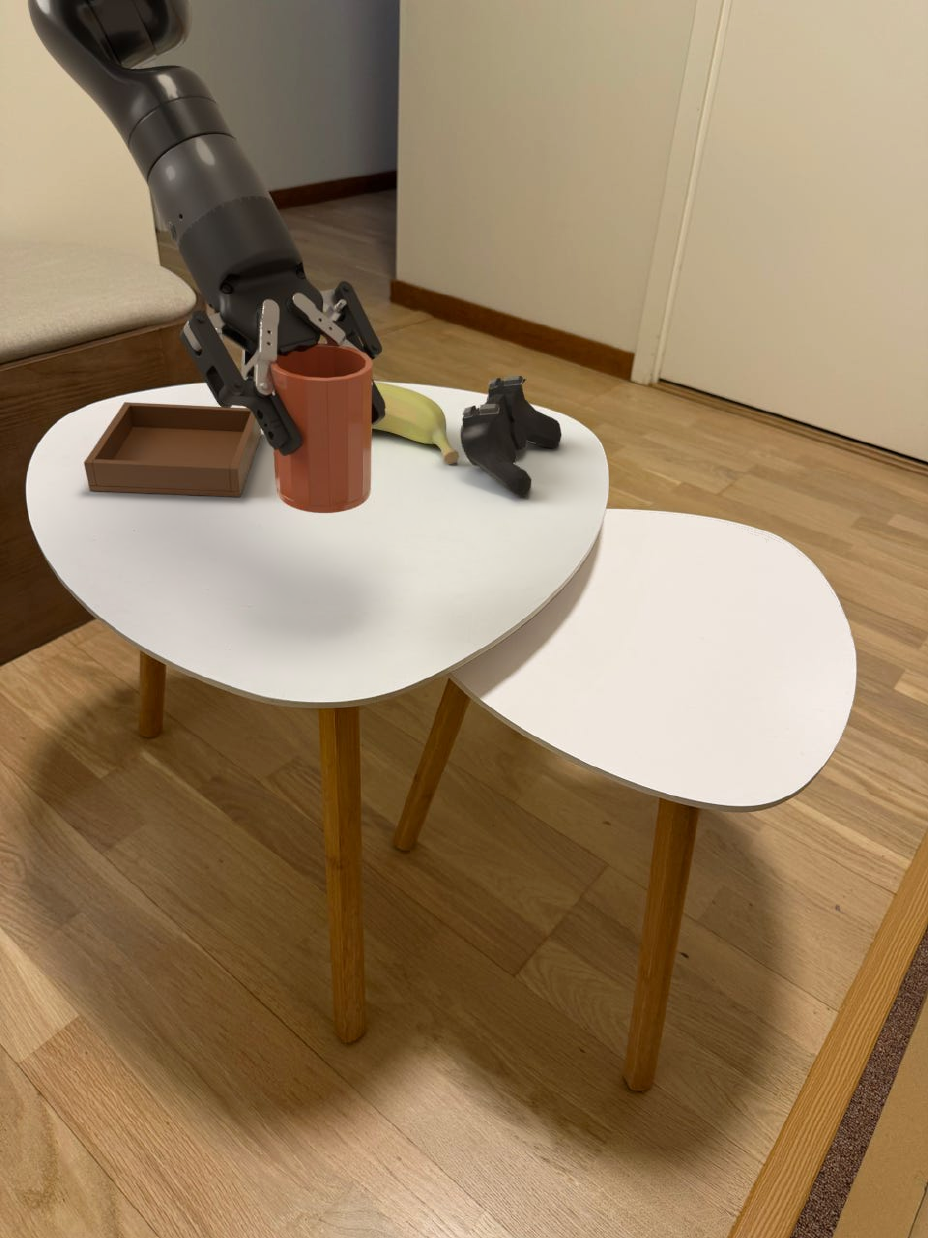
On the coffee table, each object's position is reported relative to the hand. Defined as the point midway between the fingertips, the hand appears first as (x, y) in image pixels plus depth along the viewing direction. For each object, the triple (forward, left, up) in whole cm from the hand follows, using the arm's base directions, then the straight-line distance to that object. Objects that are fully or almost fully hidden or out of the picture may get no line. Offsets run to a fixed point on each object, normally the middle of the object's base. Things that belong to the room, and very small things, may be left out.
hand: (336, 435), depth 63 cm
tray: (-19, +27, -17) cm, 37 cm away
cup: (-1, +1, -5) cm, 5 cm away
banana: (+1, +33, -17) cm, 38 cm away
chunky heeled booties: (+16, +30, -17) cm, 38 cm away
